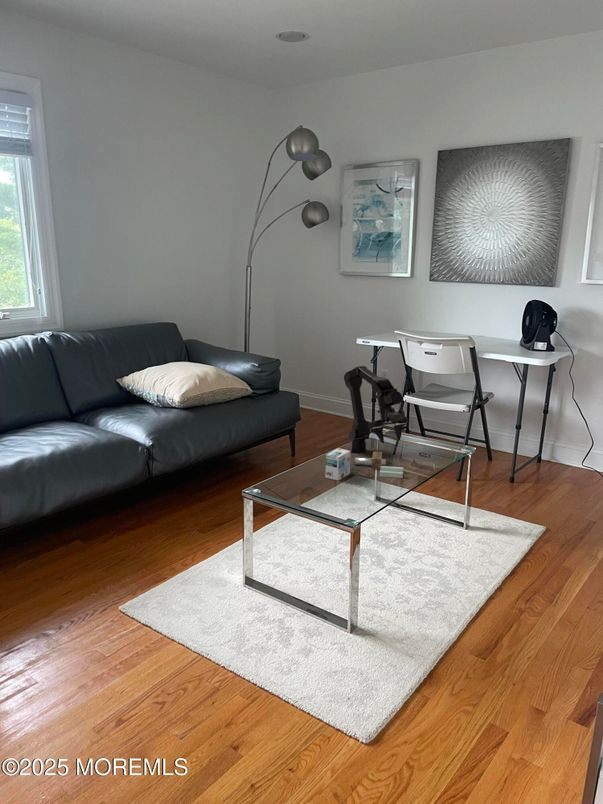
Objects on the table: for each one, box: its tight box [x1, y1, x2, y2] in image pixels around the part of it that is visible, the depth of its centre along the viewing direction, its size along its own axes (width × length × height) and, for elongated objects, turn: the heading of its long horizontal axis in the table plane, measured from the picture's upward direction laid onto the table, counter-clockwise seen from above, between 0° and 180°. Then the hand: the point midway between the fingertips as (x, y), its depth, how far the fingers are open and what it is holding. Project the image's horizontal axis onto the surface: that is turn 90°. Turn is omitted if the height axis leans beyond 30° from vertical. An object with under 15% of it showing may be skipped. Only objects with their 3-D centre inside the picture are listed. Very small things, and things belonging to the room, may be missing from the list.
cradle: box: [379, 465, 404, 479], centre depth 270 cm, size 10×8×2 cm
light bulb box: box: [325, 447, 352, 481], centre depth 266 cm, size 11×7×11 cm, turn 146°
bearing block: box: [371, 451, 383, 470], centre depth 279 cm, size 4×10×5 cm, turn 170°
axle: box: [354, 456, 387, 467], centre depth 280 cm, size 14×4×4 cm, turn 80°
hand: (391, 441), depth 272 cm, fingers open, 9 cm apart
